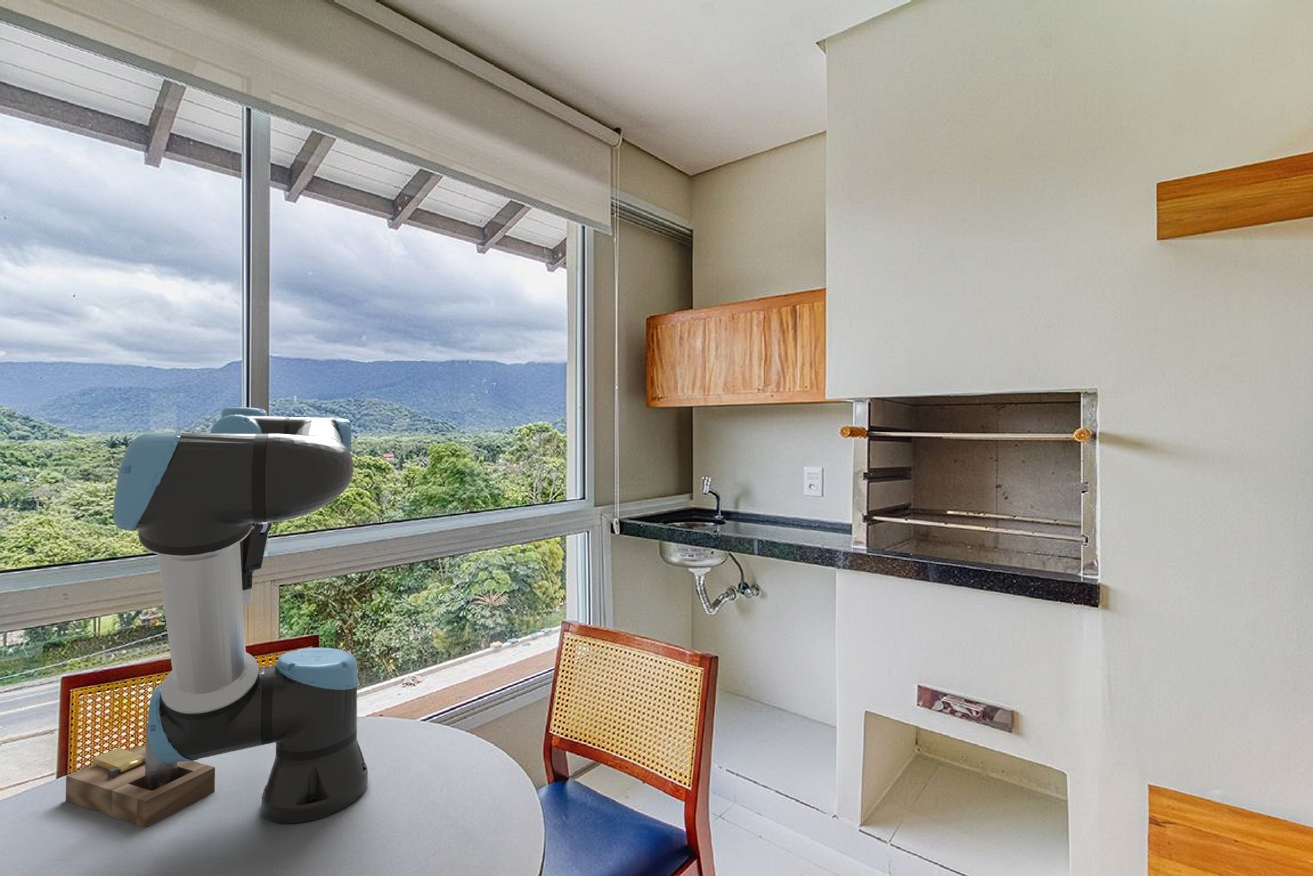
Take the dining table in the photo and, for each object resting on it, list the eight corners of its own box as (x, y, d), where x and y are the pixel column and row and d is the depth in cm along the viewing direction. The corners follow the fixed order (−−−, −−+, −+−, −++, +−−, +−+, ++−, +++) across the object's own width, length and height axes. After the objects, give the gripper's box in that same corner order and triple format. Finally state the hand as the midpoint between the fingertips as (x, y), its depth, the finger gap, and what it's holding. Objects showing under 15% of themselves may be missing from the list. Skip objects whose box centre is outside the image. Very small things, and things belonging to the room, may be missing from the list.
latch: (146, 763, 98) (146, 757, 98) (120, 774, 95) (121, 768, 95) (119, 753, 101) (119, 747, 101) (93, 763, 97) (93, 757, 97)
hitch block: (214, 791, 97) (215, 760, 97) (144, 828, 88) (145, 793, 88) (138, 768, 104) (138, 739, 104) (65, 800, 94) (66, 768, 95)
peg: (182, 797, 95) (184, 717, 96) (154, 812, 92) (156, 728, 92) (166, 792, 97) (168, 714, 97) (138, 806, 93) (140, 724, 93)
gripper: (285, 485, 116) (283, 604, 116) (239, 484, 120) (237, 598, 120) (247, 487, 109) (245, 614, 109) (200, 486, 113) (198, 607, 113)
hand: (241, 605), depth 114 cm, fingers closed
